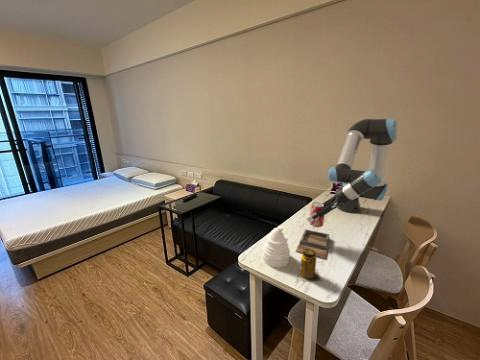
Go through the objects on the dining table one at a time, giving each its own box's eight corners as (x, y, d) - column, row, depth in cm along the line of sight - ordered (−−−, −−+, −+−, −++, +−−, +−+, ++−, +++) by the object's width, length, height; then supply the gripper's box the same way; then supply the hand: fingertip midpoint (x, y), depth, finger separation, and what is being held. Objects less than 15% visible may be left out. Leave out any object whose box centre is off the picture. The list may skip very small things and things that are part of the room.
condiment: (297, 269, 101) (299, 247, 98) (316, 269, 101) (318, 246, 98) (301, 281, 94) (303, 257, 91) (322, 281, 94) (324, 257, 91)
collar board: (304, 234, 131) (304, 228, 130) (329, 239, 125) (330, 234, 124) (295, 252, 114) (296, 246, 113) (324, 260, 108) (325, 254, 107)
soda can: (307, 222, 121) (308, 202, 118) (319, 221, 122) (321, 201, 118) (312, 229, 115) (314, 207, 111) (325, 228, 115) (327, 206, 112)
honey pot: (294, 257, 110) (296, 224, 104) (280, 271, 100) (282, 236, 95) (271, 247, 118) (272, 217, 112) (257, 260, 108) (257, 227, 103)
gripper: (351, 207, 98) (310, 231, 110) (353, 193, 114) (318, 215, 127) (339, 194, 99) (300, 219, 111) (343, 182, 115) (309, 205, 127)
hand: (310, 217), depth 119 cm, fingers closed on soda can, 7 cm apart
